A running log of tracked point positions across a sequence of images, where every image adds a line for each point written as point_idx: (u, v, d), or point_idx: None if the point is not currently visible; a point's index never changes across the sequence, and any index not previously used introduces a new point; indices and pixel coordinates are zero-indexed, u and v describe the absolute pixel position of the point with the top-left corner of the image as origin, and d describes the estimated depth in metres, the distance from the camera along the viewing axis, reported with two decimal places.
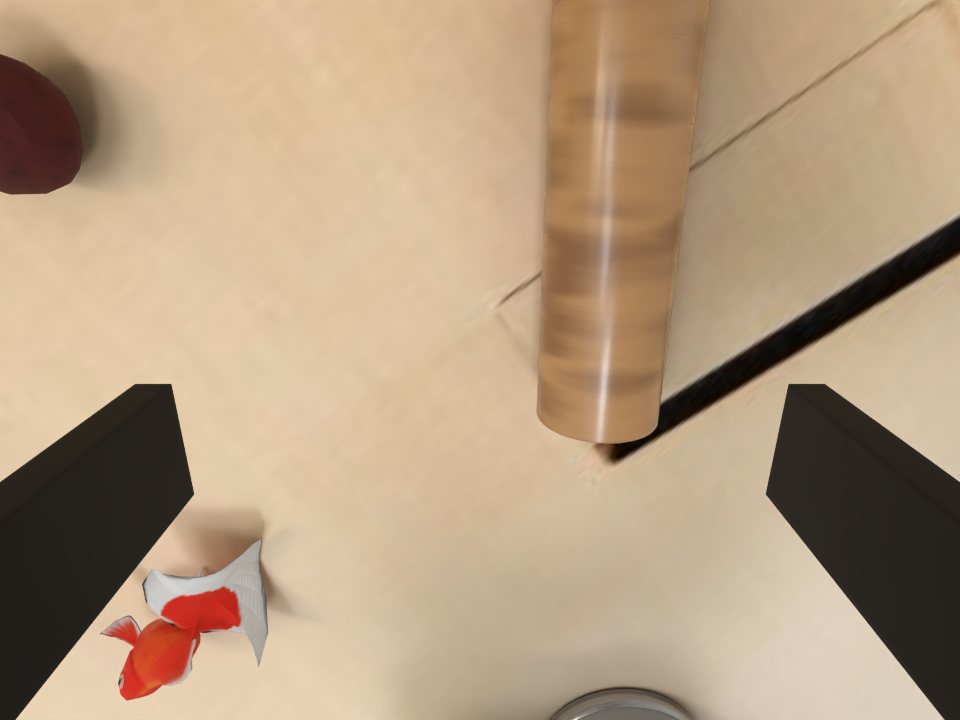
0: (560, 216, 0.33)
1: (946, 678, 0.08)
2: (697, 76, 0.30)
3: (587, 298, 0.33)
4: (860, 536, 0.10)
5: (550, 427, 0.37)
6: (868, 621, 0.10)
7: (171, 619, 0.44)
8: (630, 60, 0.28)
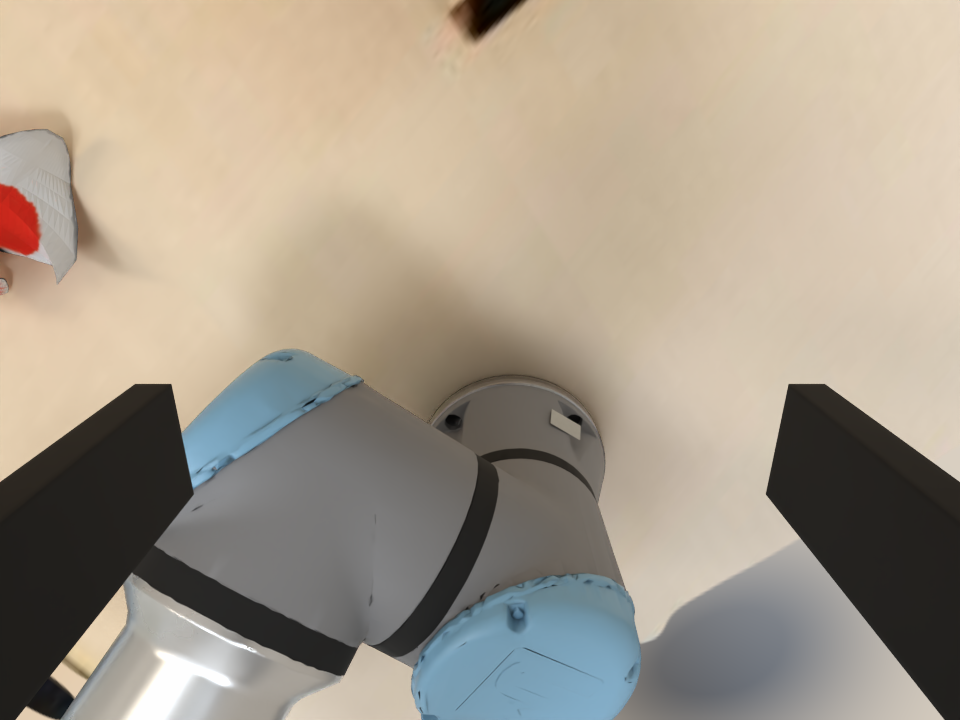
0: None
1: (947, 678, 0.08)
2: None
3: None
4: (860, 536, 0.10)
5: None
6: (868, 621, 0.10)
7: None
8: None
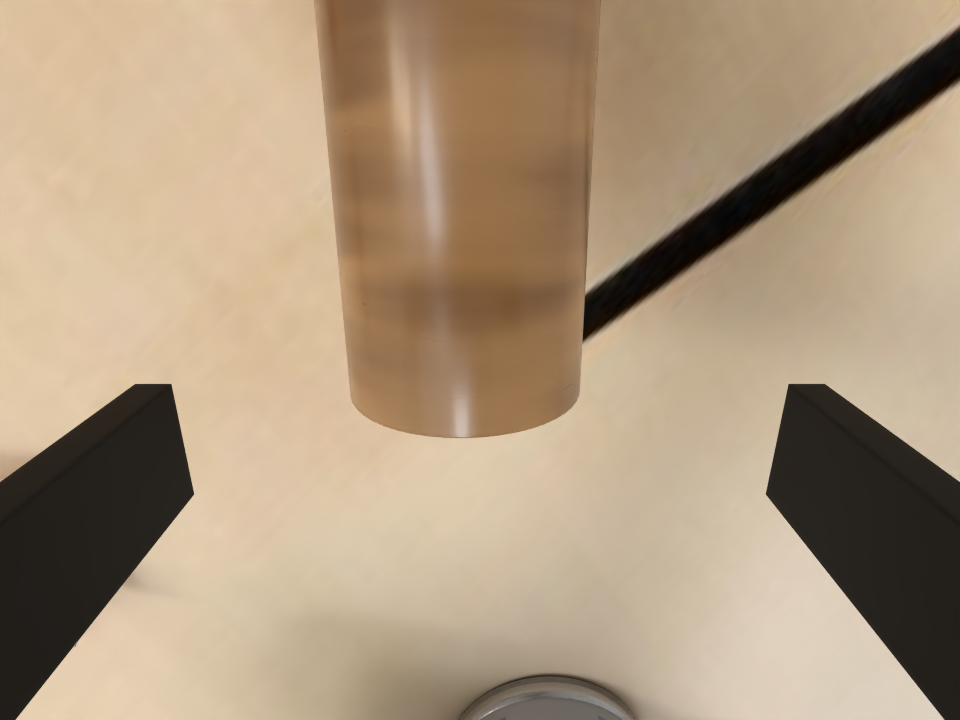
0: None
1: (947, 678, 0.08)
2: None
3: (382, 102, 0.14)
4: (860, 536, 0.10)
5: (359, 408, 0.19)
6: (868, 621, 0.10)
7: None
8: None
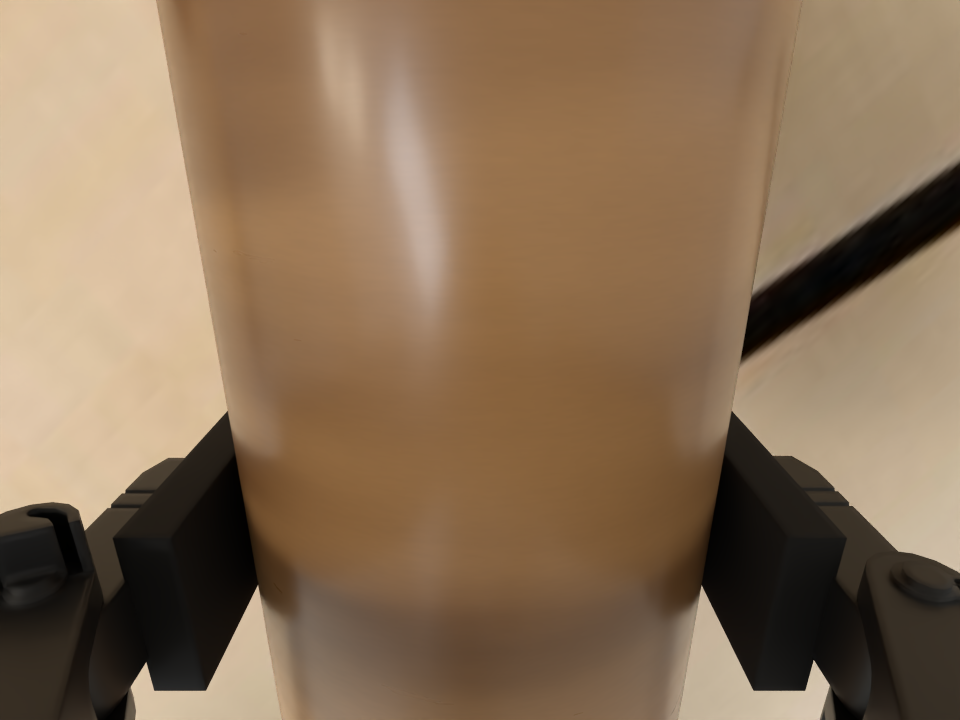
0: None
1: (726, 596, 0.09)
2: None
3: (289, 203, 0.06)
4: None
5: None
6: None
7: None
8: None
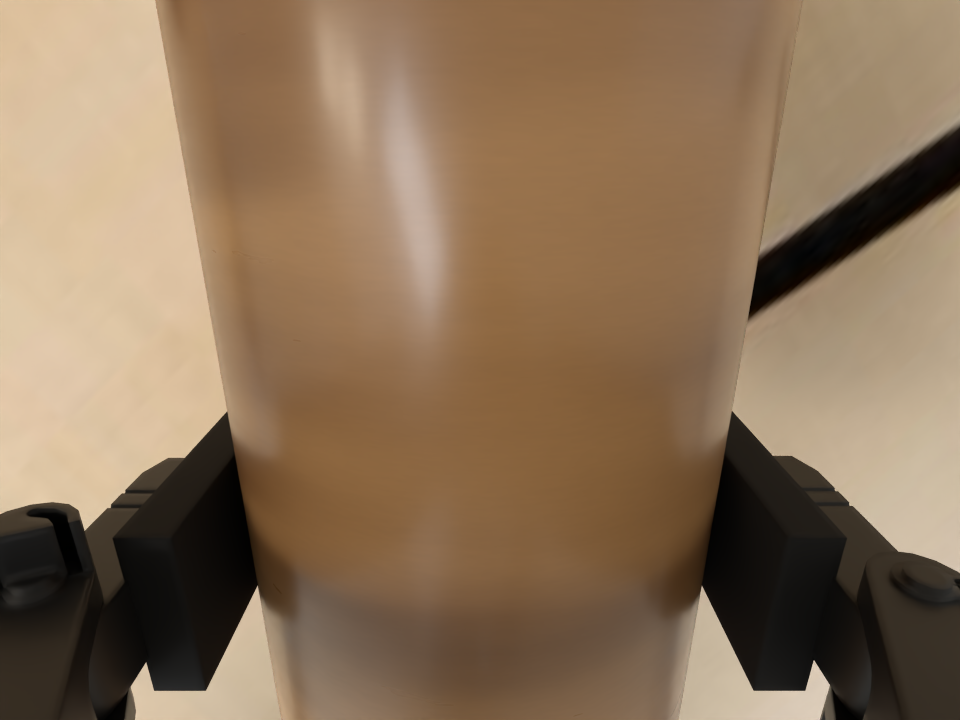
0: None
1: (726, 596, 0.09)
2: None
3: (287, 204, 0.06)
4: None
5: None
6: None
7: None
8: None
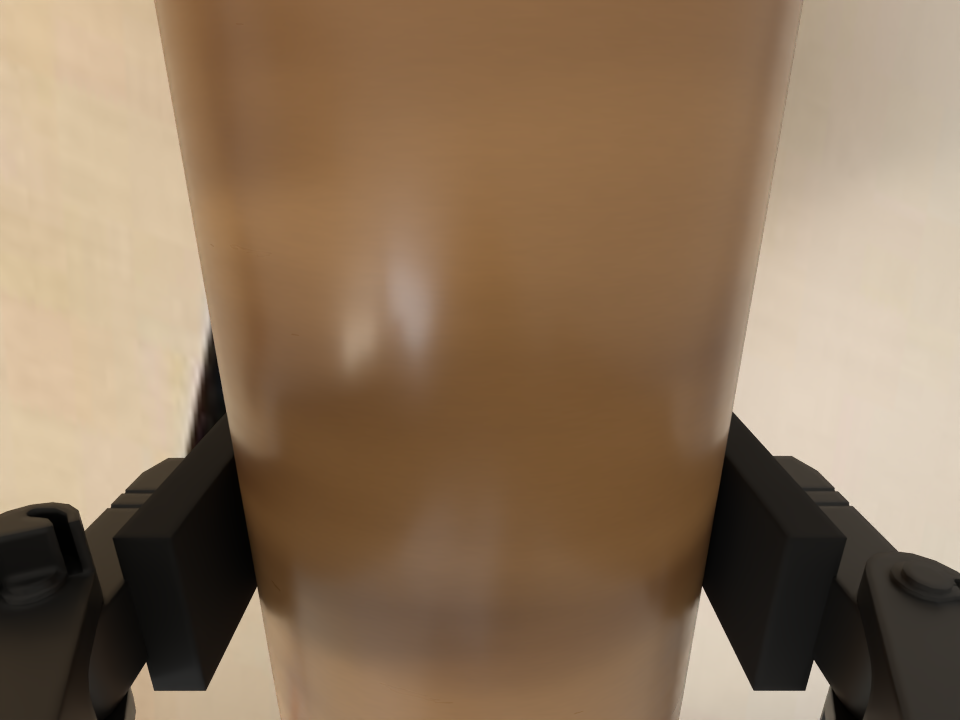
0: None
1: (726, 596, 0.09)
2: None
3: (285, 196, 0.05)
4: None
5: None
6: None
7: None
8: None
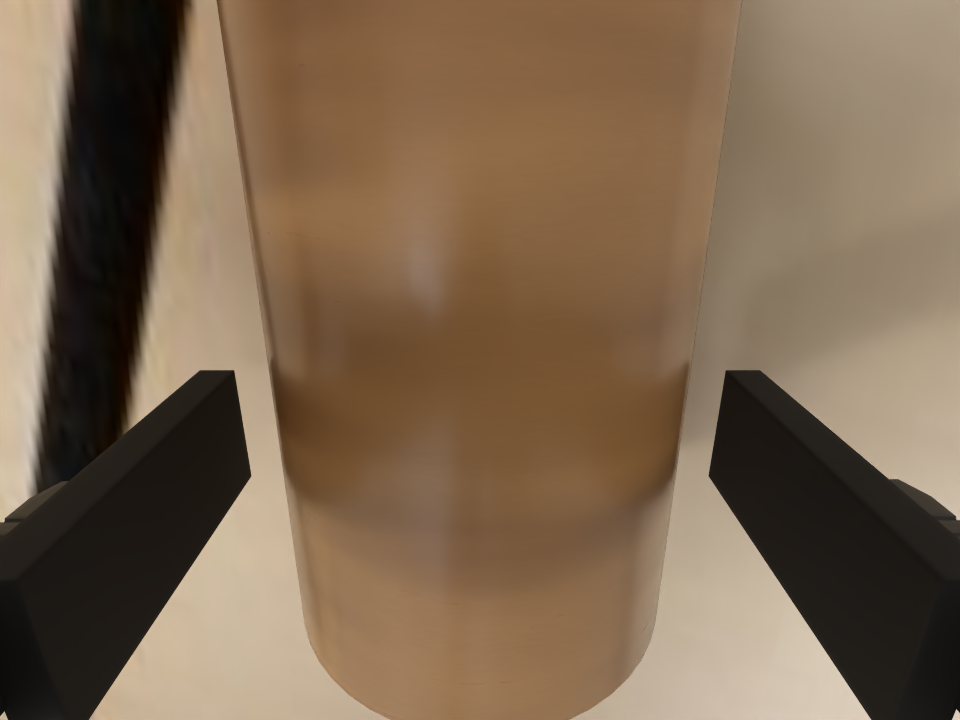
0: None
1: (842, 634, 0.09)
2: None
3: (334, 194, 0.07)
4: (779, 509, 0.11)
5: (313, 647, 0.12)
6: (785, 588, 0.10)
7: None
8: None
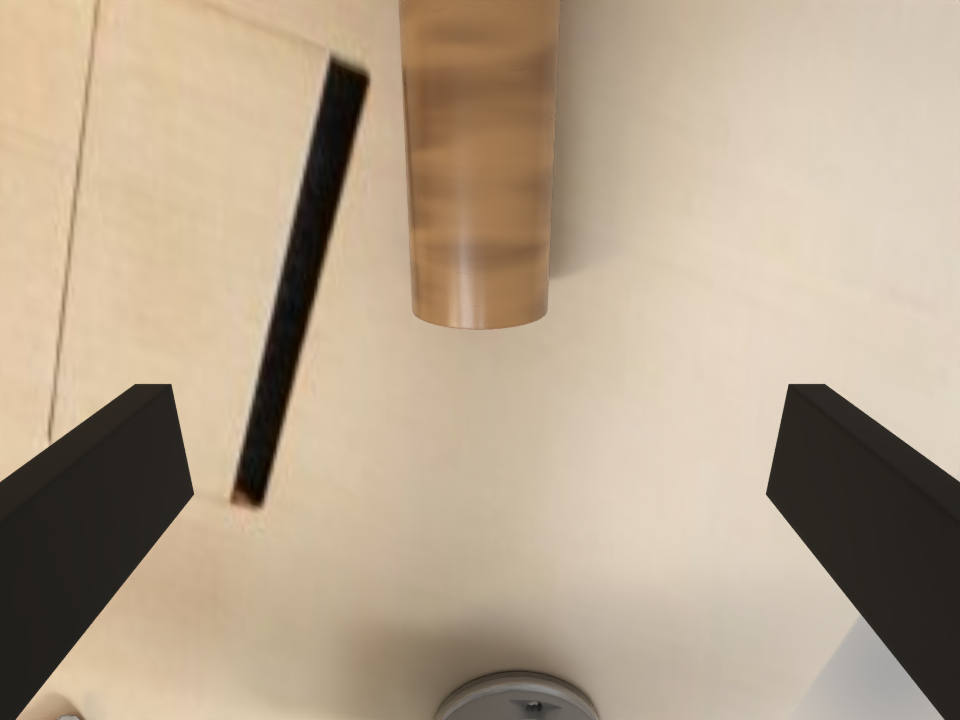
0: (410, 52, 0.28)
1: (947, 678, 0.08)
2: None
3: (442, 149, 0.28)
4: (860, 536, 0.10)
5: (420, 316, 0.33)
6: (868, 621, 0.10)
7: None
8: None
